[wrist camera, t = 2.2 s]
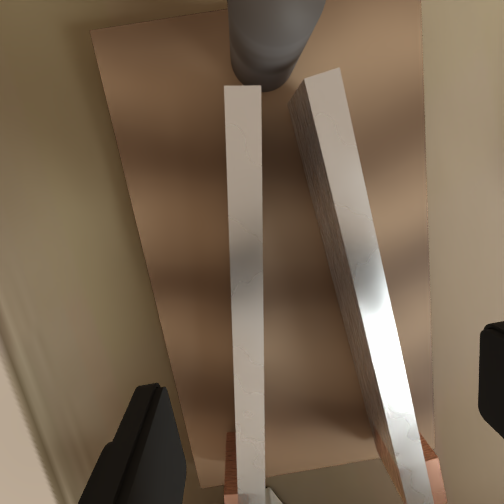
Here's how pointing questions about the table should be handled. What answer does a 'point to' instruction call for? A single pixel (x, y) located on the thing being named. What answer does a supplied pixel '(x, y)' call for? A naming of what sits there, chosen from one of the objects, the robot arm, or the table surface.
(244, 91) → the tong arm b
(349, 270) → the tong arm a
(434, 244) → the table surface
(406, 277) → the tong board
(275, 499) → the supplement box
